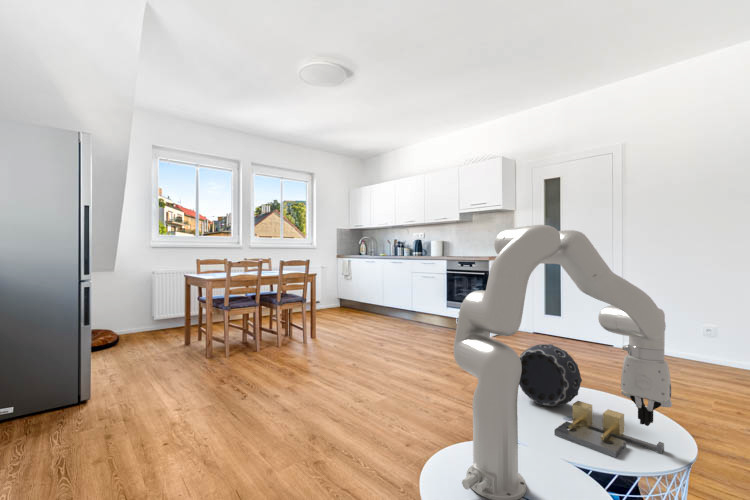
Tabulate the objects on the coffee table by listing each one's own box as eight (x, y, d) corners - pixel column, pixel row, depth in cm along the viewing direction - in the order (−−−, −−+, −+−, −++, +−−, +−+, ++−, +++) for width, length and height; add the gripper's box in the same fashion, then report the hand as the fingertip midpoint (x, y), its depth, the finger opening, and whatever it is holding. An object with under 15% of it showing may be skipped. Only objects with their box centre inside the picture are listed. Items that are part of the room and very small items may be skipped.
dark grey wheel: (528, 391, 133) (527, 337, 134) (585, 409, 117) (584, 348, 118) (512, 398, 127) (511, 342, 127) (570, 418, 111) (569, 354, 111)
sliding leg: (610, 445, 93) (610, 426, 93) (593, 439, 96) (593, 420, 96) (624, 431, 100) (624, 413, 100) (608, 426, 103) (607, 409, 103)
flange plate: (615, 457, 89) (615, 451, 89) (554, 435, 101) (554, 429, 101) (626, 446, 94) (625, 440, 95) (566, 426, 106) (566, 421, 106)
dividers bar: (653, 465, 86) (653, 439, 86) (562, 432, 102) (562, 410, 102) (664, 449, 93) (664, 425, 93) (578, 421, 109) (577, 400, 109)
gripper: (608, 349, 98) (608, 417, 97) (679, 362, 86) (679, 439, 86) (618, 345, 102) (617, 410, 102) (686, 357, 91) (685, 430, 90)
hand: (645, 423), depth 94 cm, fingers closed
